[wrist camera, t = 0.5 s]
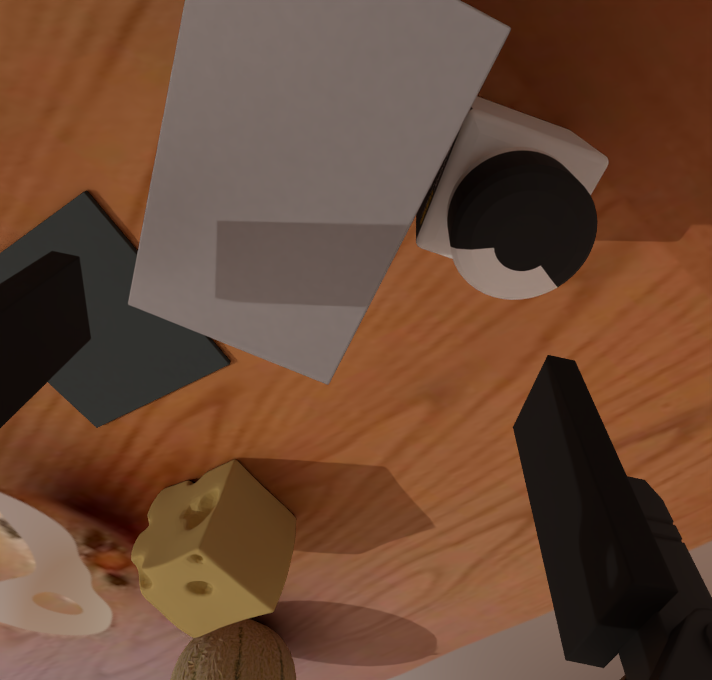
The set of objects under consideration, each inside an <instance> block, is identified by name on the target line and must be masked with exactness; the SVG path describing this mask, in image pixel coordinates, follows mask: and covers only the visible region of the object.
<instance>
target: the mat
mask: <svg viewBox="0 0 712 680" xmlns="http://www.w3.org/2000/svg"><path fill="white" fill-rule="evenodd" d="M51 251H56V252H61V253H65V254H70V255H75V256H80V263H81V270H82V277H83V284H84V291H85V299H86V306H87V313H88V320H89V327H90V334H91V340H90V341H89V342H88V343H87V344H86V345H84V346H83V347H82V348H81V349H80V350H79V351H78V352H77V353H76V354H75V355H74V356H73V357H72V358H71V359H70V360H69V361H68V362H67V363H66V364H65V365H64V366H63V367H62V368H61V369H60V370H59V371H58V372H57V373H56V374H55V375H54V376H53V377H52V378H51V379H50V380H49V381H48V383H49V384H50V385H51V386H52V387H53V388H55V389H56V390H57V391H58V392H59V393H60V394H61V395H62V396H63V397H64V398H65V399H66V400H67V401H69V402H70V403H71V404H72V405H73V406H74V407H75V408H76V409H77V410H78V411H79V412H80V413H81V414H82V415H84V416H85V417H86V418H87V419H88V420H89V421H90V422H91V423H92V424H93V425H94V426H95V427H96V428H98V427H100V426H102V425H104V424H106V423H108V422H110V421H112V420H114V419H116V418H118V417H121V416H123V415H125V414H127V413H129V412H131V411H133V410H135V409H137V408H139V407H141V406H144V405H146V404H148V403H150V402H152V401H154V400H156V399H158V398H160V397H162V396H164V395H166V394H169V393H171V392H173V391H175V390H177V389H179V388H181V387H183V386H185V385H187V384H189V383H192V382H194V381H196V380H198V379H200V378H202V377H204V376H206V375H208V374H210V373H212V372H215V371H217V370H219V369H221V368H223V367H225V366H227V365H229V364H230V360H229V359H228V358H227V357H226V356H225V355H224V353H223V352H222V351H221V350H220V349H219V347H218V346H217V345H216V344H215V343H214V341H213V340H212V339H211V338H210V337H208V336H205V335H203V334H200V333H198V332H195V331H193V330H190V329H188V328H185V327H183V326H180V325H178V324H175V323H173V322H170V321H168V320H165V319H163V318H161V317H158V316H156V315H153V314H151V313H148V312H146V311H143V310H141V309H138V308H136V307H133V306H131V305H129V304H128V301H129V295H130V290H131V285H132V280H133V274H134V269H135V264H136V258H137V253H138V251H137V250H136V249H135V247H134V246H133V245H132V244H131V243H130V241H129V240H128V239H127V238H126V237H125V235H124V234H123V233H122V232H121V231H120V229H119V228H118V227H117V226H116V225H115V224H114V222H113V221H112V220H111V219H110V218H109V216H108V215H107V214H106V213H105V212H104V210H103V209H102V208H101V207H100V206H99V204H98V203H97V202H96V201H95V200H94V199H93V197H92V196H91V195H90V194H89V193H88V191H84V192H83V193H81V194H80V195H79V196H77V197H76V198H75V199H73V200H72V201H71V202H69V203H68V204H67V205H65V206H64V207H62V208H61V209H60V210H58V211H57V212H56V213H54V214H53V215H52V216H50V217H49V218H48V219H46V220H45V221H43V222H42V223H41V224H39V225H38V226H37V227H35V228H34V229H33V230H31V231H30V232H28V233H27V234H26V235H24V236H23V237H22V238H20V239H19V240H18V241H16V242H15V243H14V244H12V245H11V246H9V247H8V248H7V249H5V250H4V251H3V252H1V253H0V284H1V283H2V282H4V281H5V280H7V279H8V278H10V277H12V276H13V275H15V274H16V273H18V272H19V271H21V270H23V269H24V268H26V267H27V266H29V265H30V264H32V263H34V262H35V261H37V260H38V259H40V258H41V257H43V256H45V255H46V254H48V253H49V252H51Z"/></svg>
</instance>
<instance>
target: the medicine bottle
mask: <svg viewBox="0 0 712 680" xmlns="http://www.w3.org/2000/svg"><path fill="white" fill-rule="evenodd" d="M608 163H609V162H608V158H607V157H606V156H605V155H603V154H602V153H601V152H599V151H598V150H597V149H595V148H594V147H592V146H591V145H590V144H588V143H587V142H586V141H584V140H583V139H581V138H580V137H579V136H577V135H576V134H575V133H573V132H572V131H570V130H568V129H566V128H563V127H560V126H557V125H555V124H552V123H549V122H546V121H544V120H541V119H538V118H535V117H533V116H530V115H527V114H524V113H522V112H519V111H516V110H513V109H511V108H508V107H505V106H502V105H500V104H497V103H494V102H491V101H489V100H486V99H483V98H480V97H478V96H477V97H476V99H475V101H474V103H473V105H472V107H471V109H470V111H469V113H468V114H467V116H466V118H465V120H464V122H463V124H462V126H461V128H460V130H459V132H458V134H457V136H456V138H455V140H454V142H453V144H452V146H451V148H450V150H449V151H448V153H447V155H446V157H445V159H444V161H443V163H442V165H441V167H440V169H439V171H438V173H437V175H436V177H435V179H434V181H433V183H432V185H431V186H430V188H429V190H428V192H427V194H426V196H425V198H424V200H423V202H422V204H421V206H420V208H419V210H418V212H417V214H416V243H417V245H418V246H419V247H420V248H422V249H425V250H428V251H431V252H434V253H437V254H440V255H443V256H446V257H449V258H452V259H453V260H454V263H455V265H456V267H457V269H458V271H459V273H460V274H461V275H462V277H463V278H464V279H465V280H466V281H467V282H468V283H469V284H470V285H471V286H473V287H474V288H475V289H477V290H479V291H481V292H482V293H484V294H487V295H490V296H492V297H496V298H501V299H510V300H515V299H526V298H532V297H536V296H539V295H542V294H545V293H547V292H550V291H551V290H553V289H555V288H557V287H559V286H560V285H562V284H563V283H565V282H566V281H567V280H568V279H570V278H571V277H572V276H573V275H574V274H575V273H576V272H577V271H578V270H579V269H580V268H581V266H582V265H583V263H584V262H585V261H586V259H587V257H588V255H589V253H590V252H591V249H592V247H593V244H594V241H595V237H596V232H597V214H596V209H595V205H594V202H593V200H592V198H591V194H592V192H593V190H594V189H595V187H596V185H597V183H598V182H599V180H600V178H601V177H602V175H603V173H604V171H605V170H606V168H607V166H608Z"/></svg>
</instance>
